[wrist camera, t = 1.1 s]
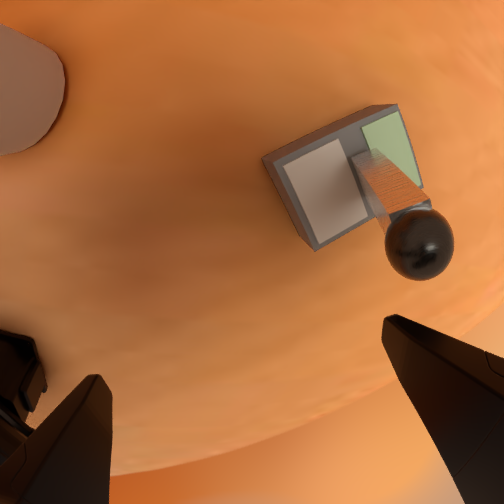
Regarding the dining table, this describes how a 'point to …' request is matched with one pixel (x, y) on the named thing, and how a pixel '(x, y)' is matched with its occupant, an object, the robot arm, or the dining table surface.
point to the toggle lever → (405, 218)
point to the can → (27, 90)
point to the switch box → (337, 172)
